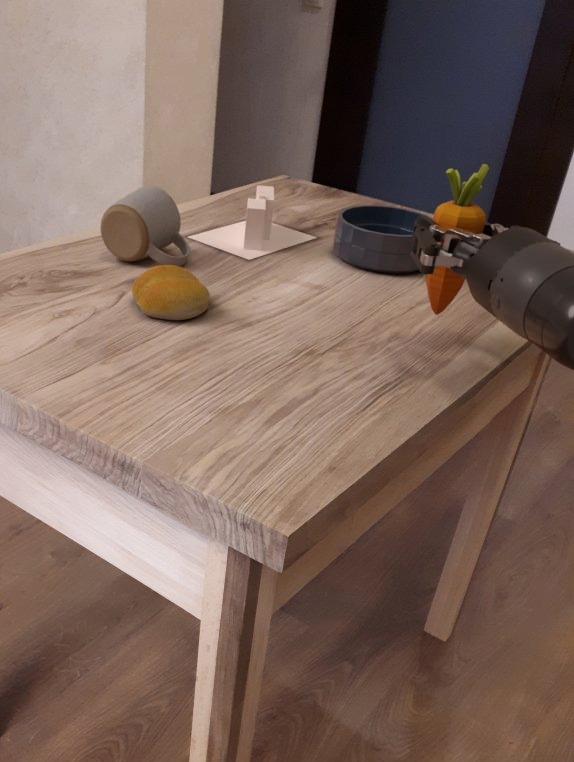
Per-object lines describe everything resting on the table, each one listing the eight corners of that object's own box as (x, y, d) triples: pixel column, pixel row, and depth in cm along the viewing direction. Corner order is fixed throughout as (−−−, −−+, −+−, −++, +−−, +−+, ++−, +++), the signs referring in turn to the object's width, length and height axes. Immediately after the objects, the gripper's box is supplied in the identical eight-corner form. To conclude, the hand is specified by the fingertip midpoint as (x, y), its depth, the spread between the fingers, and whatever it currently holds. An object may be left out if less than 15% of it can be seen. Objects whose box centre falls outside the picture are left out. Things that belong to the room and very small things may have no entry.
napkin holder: (255, 217, 117) (259, 176, 114) (318, 237, 111) (324, 195, 108) (185, 237, 108) (187, 193, 104) (250, 260, 102) (254, 214, 98)
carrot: (409, 318, 83) (442, 165, 74) (416, 301, 86) (449, 155, 78) (457, 327, 81) (497, 173, 72) (463, 310, 85) (501, 162, 76)
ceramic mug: (95, 257, 99) (95, 194, 94) (129, 239, 105) (130, 179, 100) (170, 277, 96) (174, 212, 91) (200, 257, 102) (205, 196, 97)
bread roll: (148, 326, 83) (149, 289, 81) (125, 294, 90) (125, 259, 88) (221, 319, 86) (224, 283, 84) (193, 288, 93) (195, 254, 90)
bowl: (386, 237, 113) (394, 201, 110) (453, 268, 104) (462, 230, 101) (312, 247, 107) (317, 209, 104) (375, 281, 98) (383, 241, 95)
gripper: (623, 241, 67) (516, 186, 80) (468, 244, 64) (384, 186, 77) (592, 324, 71) (496, 259, 85) (446, 331, 68) (371, 262, 82)
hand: (443, 225), depth 81 cm, fingers closed on carrot, 5 cm apart
